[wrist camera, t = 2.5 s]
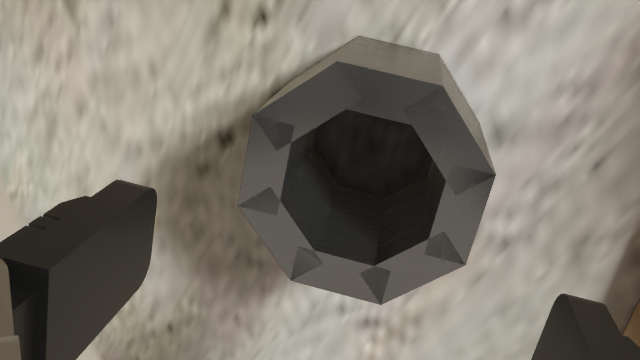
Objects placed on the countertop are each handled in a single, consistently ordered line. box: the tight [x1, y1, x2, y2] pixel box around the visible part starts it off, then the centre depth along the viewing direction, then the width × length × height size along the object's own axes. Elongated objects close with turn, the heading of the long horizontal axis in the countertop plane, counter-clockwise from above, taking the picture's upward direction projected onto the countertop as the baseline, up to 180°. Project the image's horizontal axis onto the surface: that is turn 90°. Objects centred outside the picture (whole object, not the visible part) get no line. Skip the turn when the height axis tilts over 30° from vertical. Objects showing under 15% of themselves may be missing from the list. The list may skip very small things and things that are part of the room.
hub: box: [238, 36, 496, 305], centre depth 18 cm, size 6×6×5 cm
